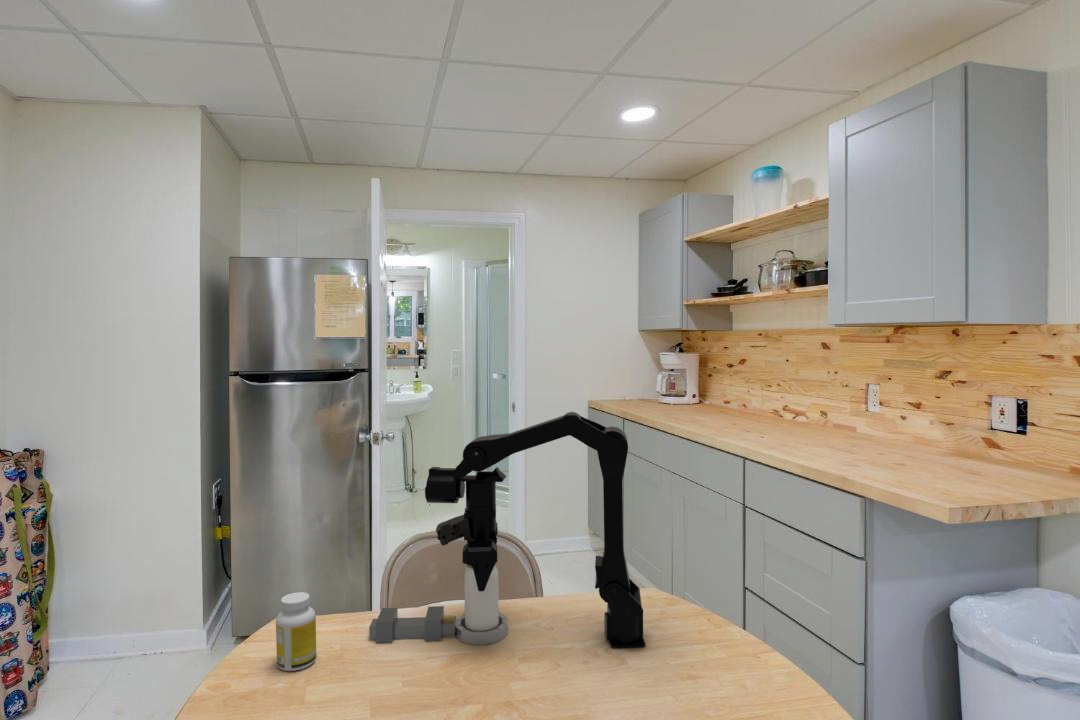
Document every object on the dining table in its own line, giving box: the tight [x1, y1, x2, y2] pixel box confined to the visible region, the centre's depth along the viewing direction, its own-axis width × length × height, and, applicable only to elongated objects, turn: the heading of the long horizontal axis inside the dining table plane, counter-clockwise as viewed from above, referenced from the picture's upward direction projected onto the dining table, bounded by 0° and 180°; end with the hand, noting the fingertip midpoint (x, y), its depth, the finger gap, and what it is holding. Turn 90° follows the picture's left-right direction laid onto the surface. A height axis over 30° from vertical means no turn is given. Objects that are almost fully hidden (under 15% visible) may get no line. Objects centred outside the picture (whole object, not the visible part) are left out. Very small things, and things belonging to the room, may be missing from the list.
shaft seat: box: [368, 605, 509, 646], centre depth 117 cm, size 26×10×4 cm, turn 94°
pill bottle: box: [275, 591, 317, 672], centre depth 107 cm, size 6×6×12 cm
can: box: [464, 562, 500, 632], centre depth 118 cm, size 6×6×12 cm
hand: (481, 583), depth 118 cm, fingers closed on can, 6 cm apart
